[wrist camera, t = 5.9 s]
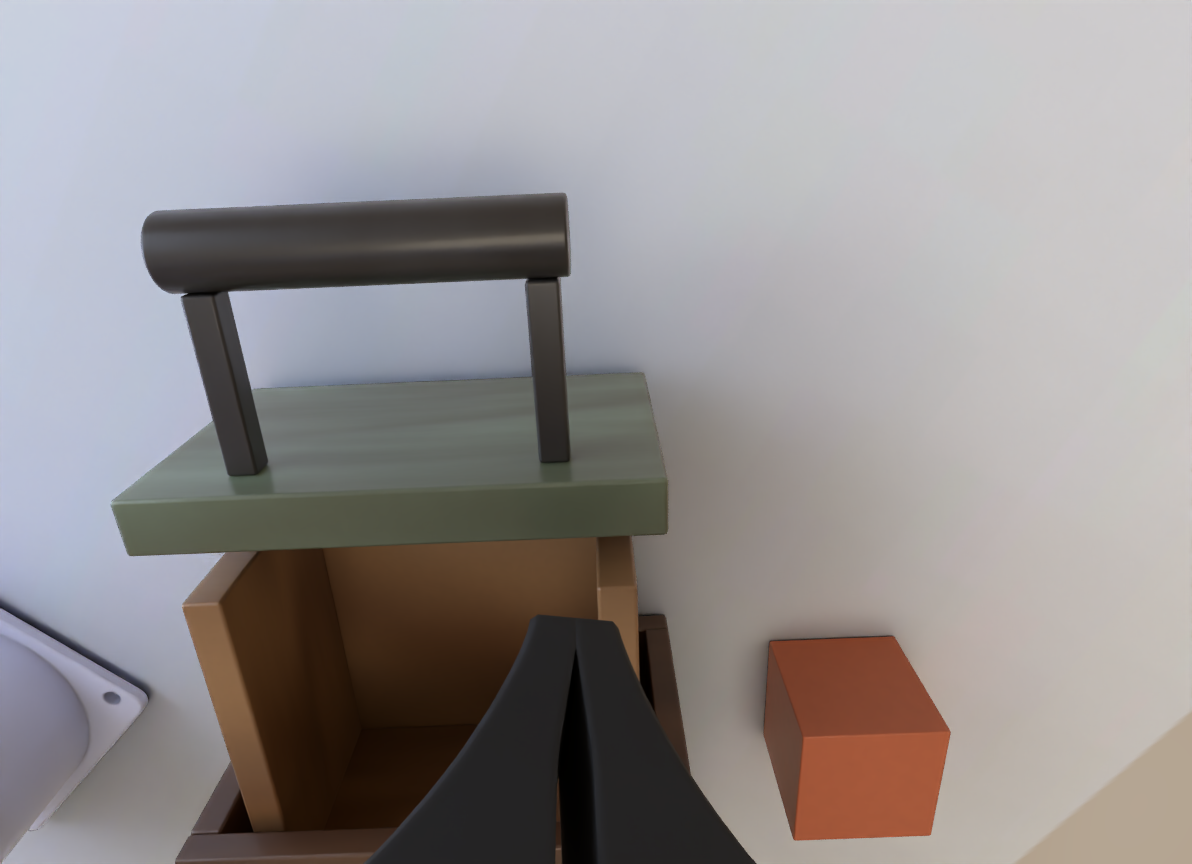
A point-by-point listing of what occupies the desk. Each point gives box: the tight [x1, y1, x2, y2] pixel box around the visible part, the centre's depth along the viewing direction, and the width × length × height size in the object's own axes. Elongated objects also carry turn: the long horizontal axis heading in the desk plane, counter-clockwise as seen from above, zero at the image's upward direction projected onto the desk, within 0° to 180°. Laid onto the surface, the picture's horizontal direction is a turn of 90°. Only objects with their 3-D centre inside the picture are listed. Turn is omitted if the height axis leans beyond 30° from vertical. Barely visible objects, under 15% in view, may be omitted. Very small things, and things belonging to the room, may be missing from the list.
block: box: [764, 636, 951, 840], centre depth 22 cm, size 4×4×4 cm
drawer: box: [111, 193, 668, 832], centre depth 17 cm, size 16×10×6 cm, turn 2°
